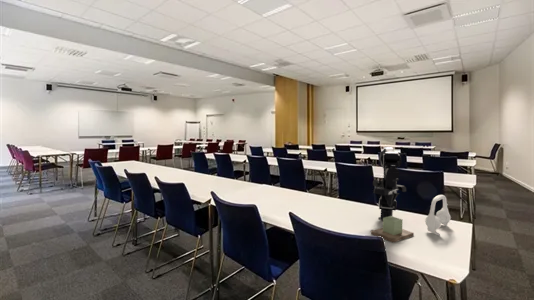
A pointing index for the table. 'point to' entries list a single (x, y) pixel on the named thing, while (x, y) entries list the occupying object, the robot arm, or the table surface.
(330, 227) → the table surface
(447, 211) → the headset
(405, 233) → the brown rectangular block
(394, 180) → the robot arm
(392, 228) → the sage green cube
